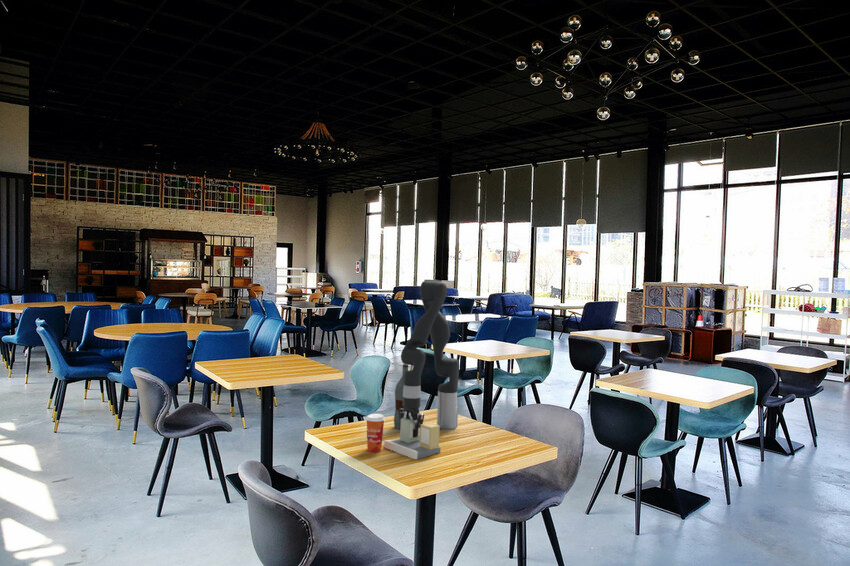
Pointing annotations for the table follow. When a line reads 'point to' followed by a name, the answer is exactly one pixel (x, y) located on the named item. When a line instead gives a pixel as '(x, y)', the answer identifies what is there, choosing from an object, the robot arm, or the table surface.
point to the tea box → (408, 431)
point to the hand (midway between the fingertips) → (410, 435)
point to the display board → (410, 448)
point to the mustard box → (429, 436)
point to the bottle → (399, 398)
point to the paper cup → (374, 432)
